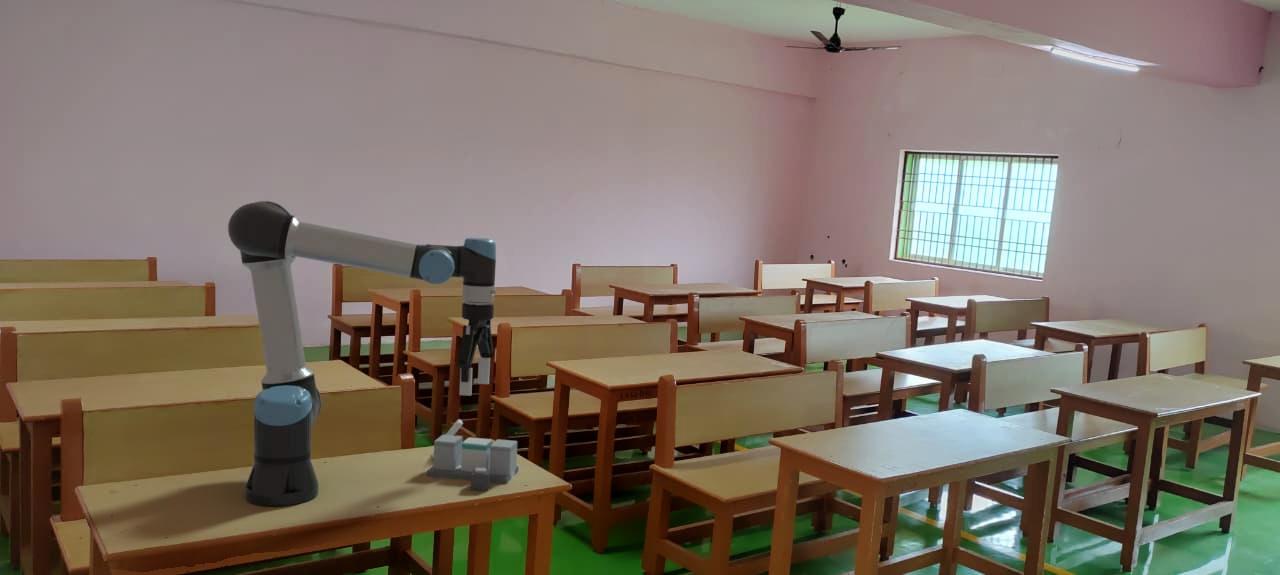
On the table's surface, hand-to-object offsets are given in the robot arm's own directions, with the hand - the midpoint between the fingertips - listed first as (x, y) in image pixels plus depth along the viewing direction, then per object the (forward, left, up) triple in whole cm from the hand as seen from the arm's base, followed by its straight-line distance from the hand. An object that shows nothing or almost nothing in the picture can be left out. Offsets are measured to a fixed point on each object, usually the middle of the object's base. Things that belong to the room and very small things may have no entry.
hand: (474, 389), depth 225 cm
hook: (-11, +12, -21) cm, 27 cm away
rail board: (0, 0, -21) cm, 21 cm away
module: (+1, 0, -20) cm, 20 cm away
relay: (+5, -10, -21) cm, 24 cm away
